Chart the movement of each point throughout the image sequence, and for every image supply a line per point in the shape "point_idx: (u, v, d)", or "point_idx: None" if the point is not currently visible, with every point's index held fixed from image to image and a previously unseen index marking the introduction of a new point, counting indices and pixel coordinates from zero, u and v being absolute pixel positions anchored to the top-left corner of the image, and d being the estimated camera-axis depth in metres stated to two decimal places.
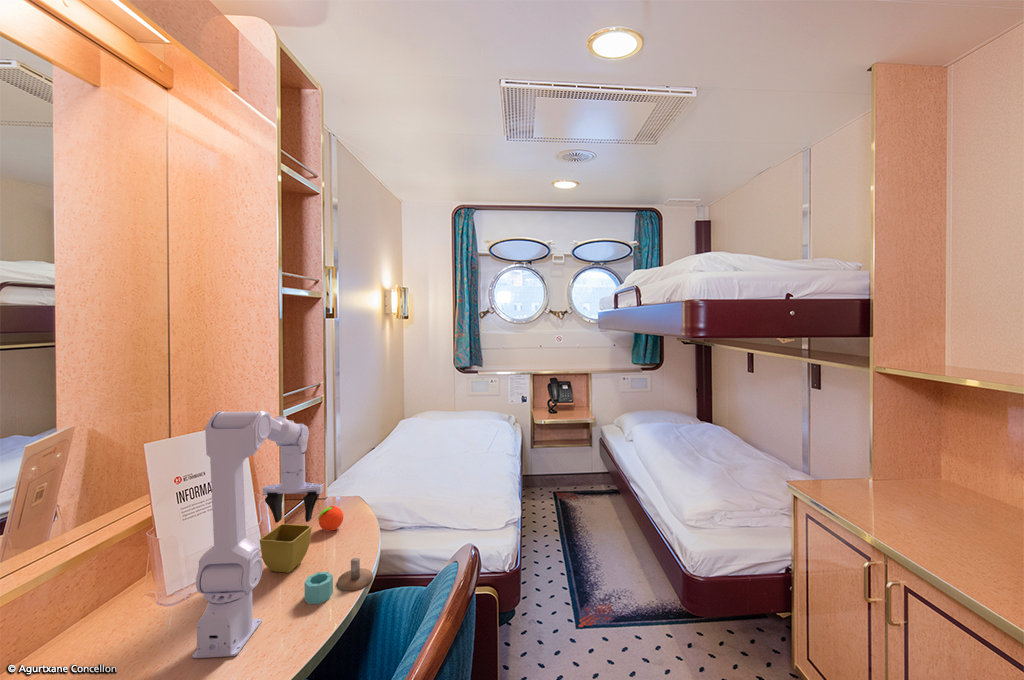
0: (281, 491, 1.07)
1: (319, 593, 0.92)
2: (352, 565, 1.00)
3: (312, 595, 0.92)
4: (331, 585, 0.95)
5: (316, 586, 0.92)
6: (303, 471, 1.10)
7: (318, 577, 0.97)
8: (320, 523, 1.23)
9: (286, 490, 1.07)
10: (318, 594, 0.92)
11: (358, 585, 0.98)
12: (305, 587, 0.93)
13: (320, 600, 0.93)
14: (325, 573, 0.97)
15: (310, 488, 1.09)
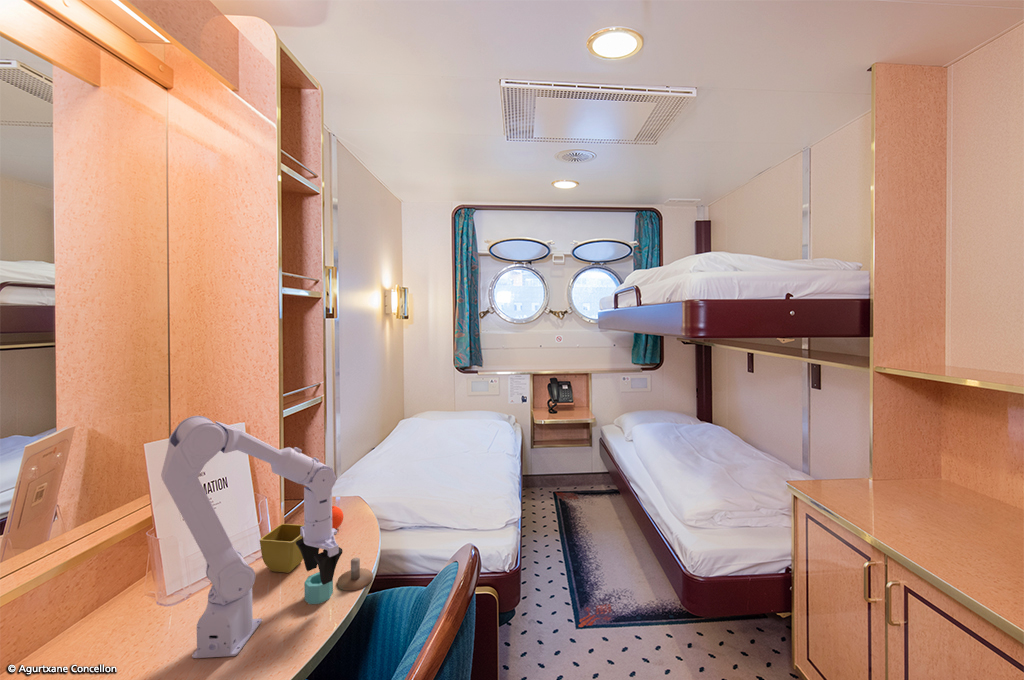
0: (303, 539, 0.94)
1: (319, 593, 0.92)
2: (352, 565, 1.00)
3: (312, 595, 0.92)
4: (331, 585, 0.95)
5: (316, 586, 0.92)
6: (322, 523, 0.92)
7: (318, 577, 0.97)
8: None
9: (304, 540, 0.93)
10: (318, 594, 0.92)
11: (358, 585, 0.98)
12: (305, 587, 0.93)
13: (320, 600, 0.93)
14: None
15: (322, 546, 0.90)
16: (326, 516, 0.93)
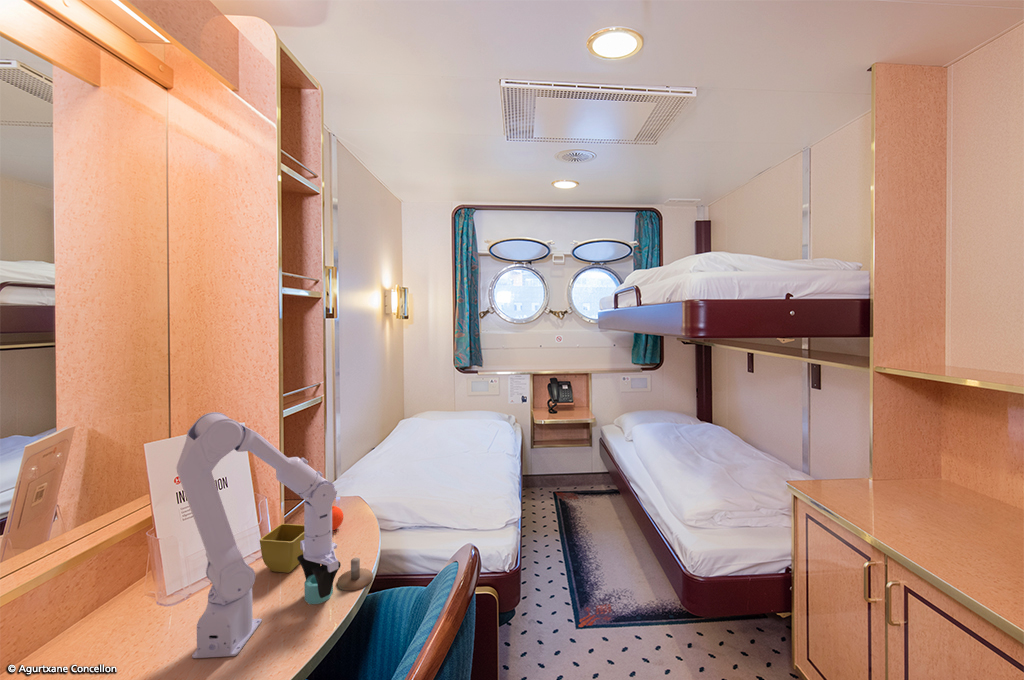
0: (303, 553, 0.94)
1: None
2: (352, 565, 1.00)
3: (312, 595, 0.92)
4: None
5: (316, 586, 0.92)
6: (322, 537, 0.92)
7: None
8: None
9: (304, 555, 0.93)
10: (318, 594, 0.92)
11: (358, 585, 0.98)
12: (305, 587, 0.93)
13: (320, 600, 0.93)
14: None
15: (322, 561, 0.90)
16: (326, 531, 0.93)
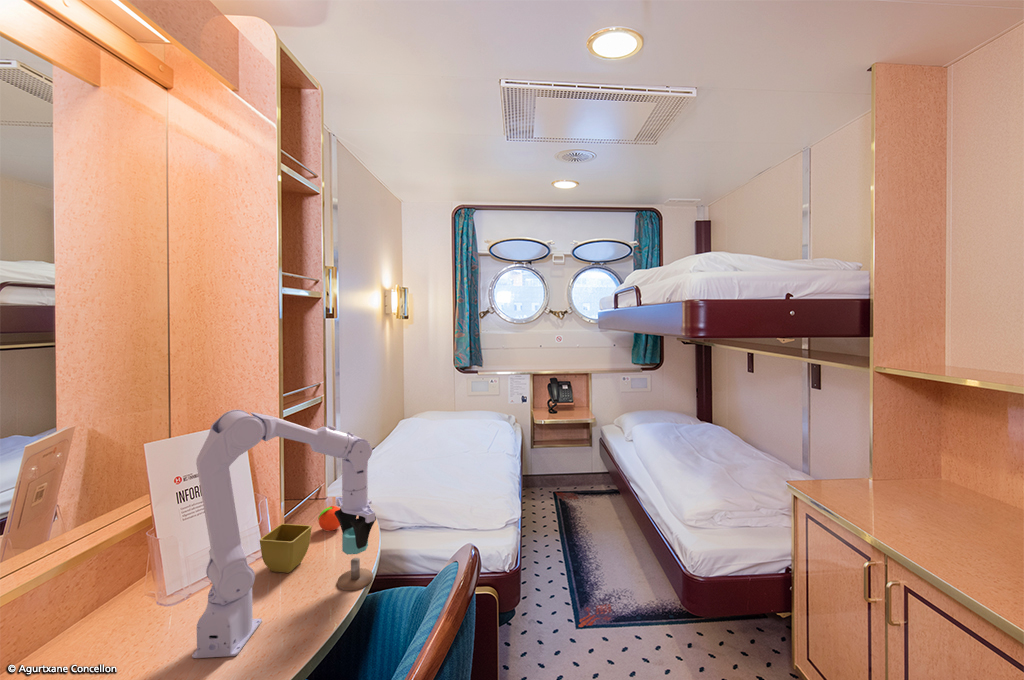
0: None
1: None
2: (352, 565, 1.00)
3: (350, 546, 0.98)
4: None
5: (354, 537, 0.98)
6: (359, 492, 0.98)
7: (353, 531, 1.02)
8: (320, 523, 1.23)
9: (342, 508, 0.98)
10: (355, 545, 0.98)
11: (358, 585, 0.98)
12: (342, 539, 0.99)
13: (357, 551, 0.98)
14: None
15: (360, 513, 0.96)
16: (363, 486, 0.99)
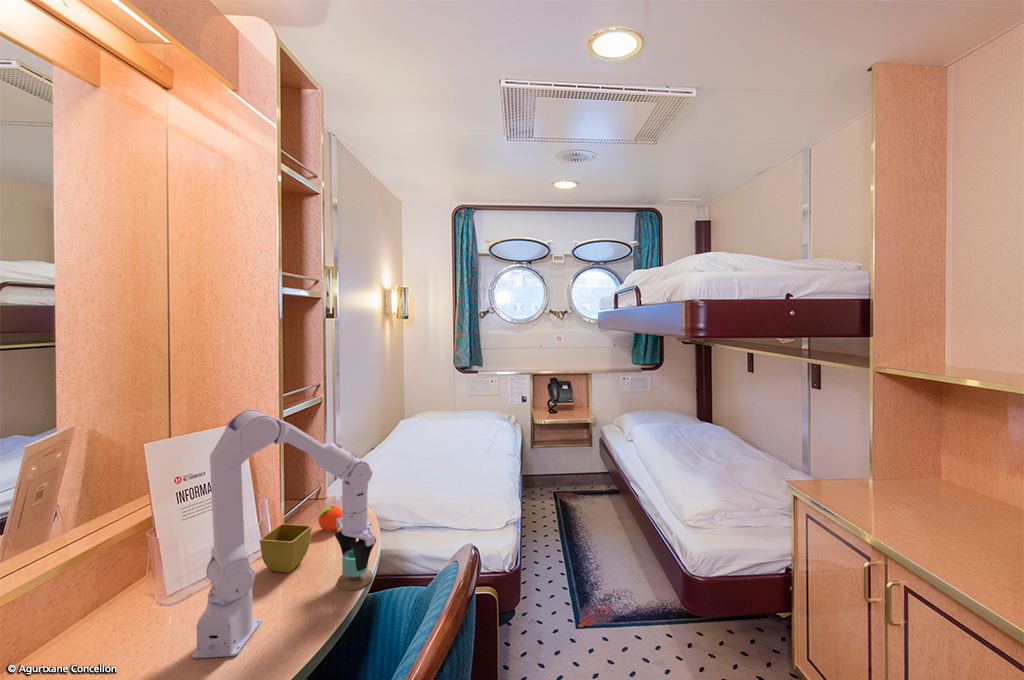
0: (341, 530, 1.00)
1: None
2: None
3: (350, 568, 0.98)
4: None
5: (354, 560, 0.98)
6: (359, 514, 0.98)
7: None
8: (320, 523, 1.23)
9: (342, 530, 0.99)
10: None
11: (358, 585, 0.98)
12: (343, 561, 0.99)
13: (357, 573, 0.98)
14: None
15: (360, 536, 0.96)
16: (363, 508, 0.99)
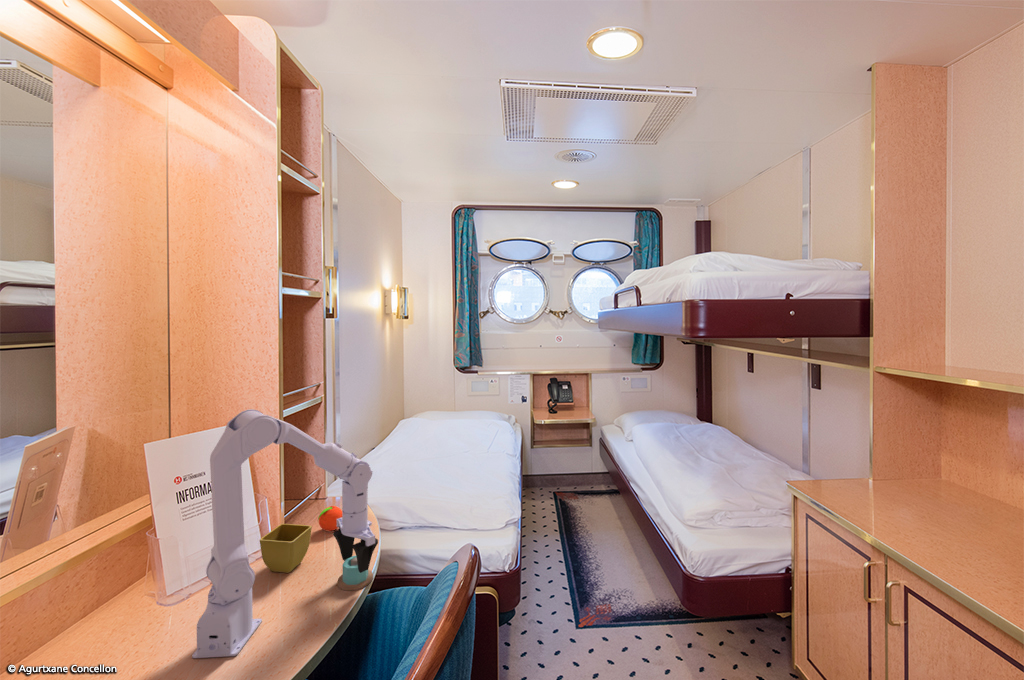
0: (341, 530, 1.00)
1: (357, 575, 0.98)
2: (352, 565, 1.00)
3: (350, 576, 0.98)
4: None
5: (354, 568, 0.98)
6: (359, 514, 0.98)
7: None
8: (320, 523, 1.23)
9: (342, 530, 0.99)
10: (356, 575, 0.98)
11: (358, 585, 0.98)
12: (343, 569, 0.99)
13: (357, 581, 0.99)
14: None
15: (360, 536, 0.96)
16: (363, 508, 0.99)
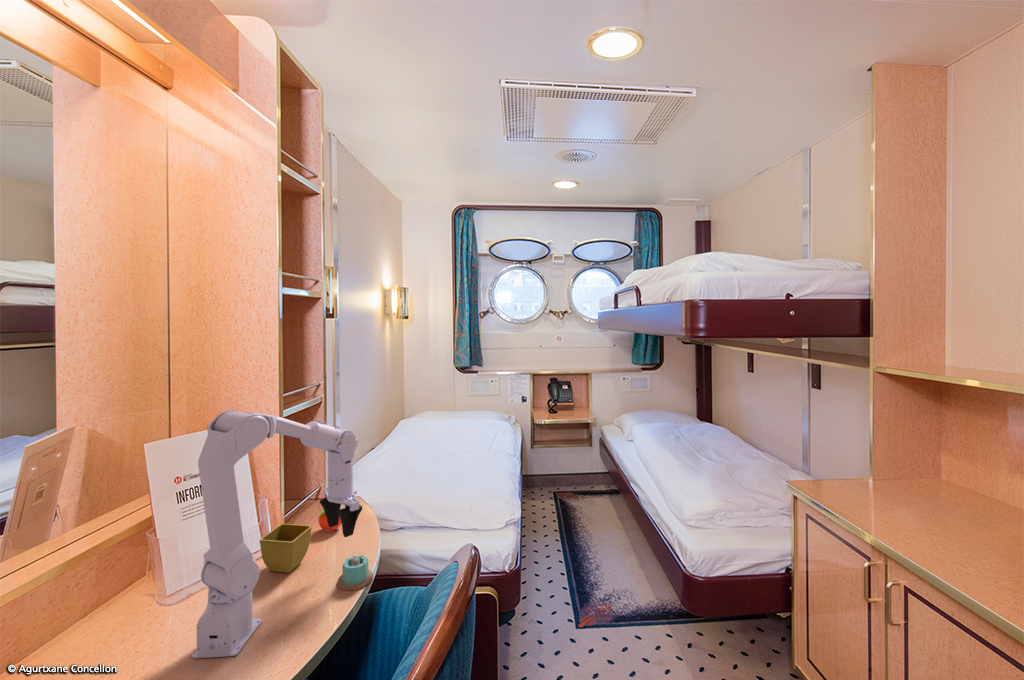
0: (326, 497, 1.04)
1: (357, 575, 0.98)
2: (352, 565, 1.00)
3: (350, 576, 0.98)
4: (367, 568, 1.01)
5: (354, 568, 0.98)
6: (344, 482, 1.03)
7: None
8: (320, 523, 1.23)
9: (328, 497, 1.03)
10: (356, 575, 0.98)
11: (358, 585, 0.98)
12: (343, 569, 0.99)
13: (357, 581, 0.99)
14: (361, 556, 1.03)
15: (345, 502, 1.01)
16: (350, 475, 1.04)
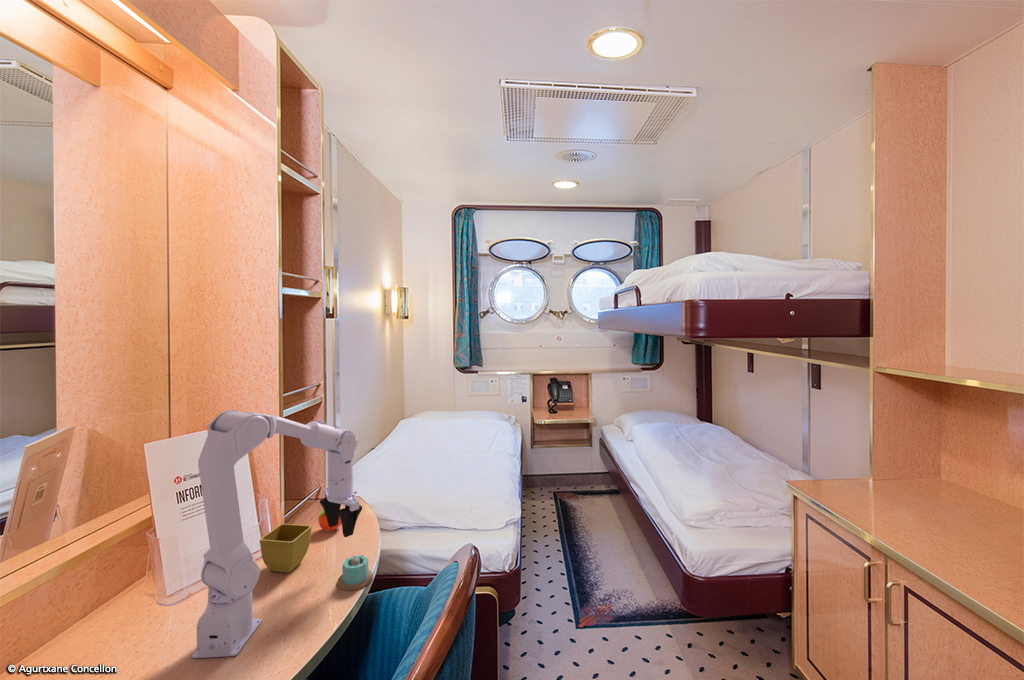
0: (326, 497, 1.04)
1: (357, 575, 0.98)
2: (352, 565, 1.00)
3: (350, 576, 0.98)
4: (367, 568, 1.01)
5: (354, 568, 0.98)
6: (344, 482, 1.03)
7: None
8: (320, 523, 1.23)
9: (328, 497, 1.03)
10: (356, 575, 0.98)
11: (358, 585, 0.98)
12: (343, 569, 0.99)
13: (357, 581, 0.99)
14: (361, 556, 1.03)
15: (345, 502, 1.01)
16: (350, 475, 1.04)
